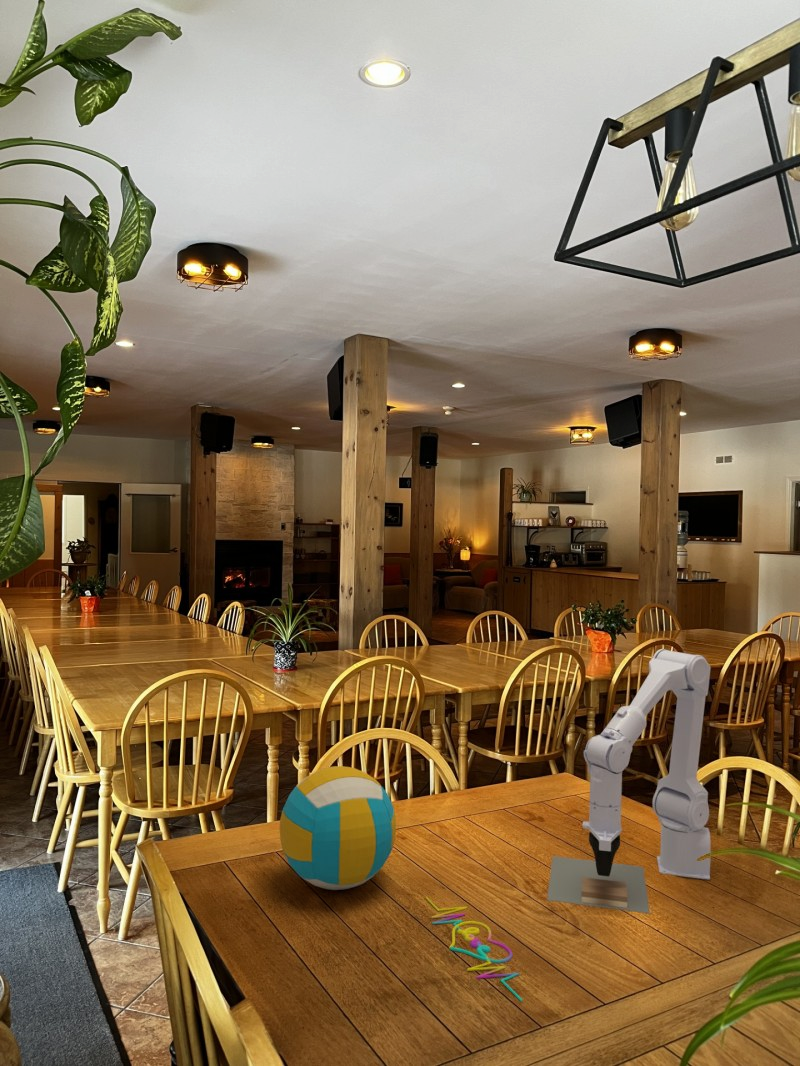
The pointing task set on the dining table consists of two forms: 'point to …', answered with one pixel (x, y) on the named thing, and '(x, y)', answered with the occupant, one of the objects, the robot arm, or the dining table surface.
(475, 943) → the decorative art
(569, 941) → the dining table surface
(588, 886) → the tile
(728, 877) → the dining table surface
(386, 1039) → the dining table surface
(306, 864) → the volleyball
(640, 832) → the dining table surface
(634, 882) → the mat
